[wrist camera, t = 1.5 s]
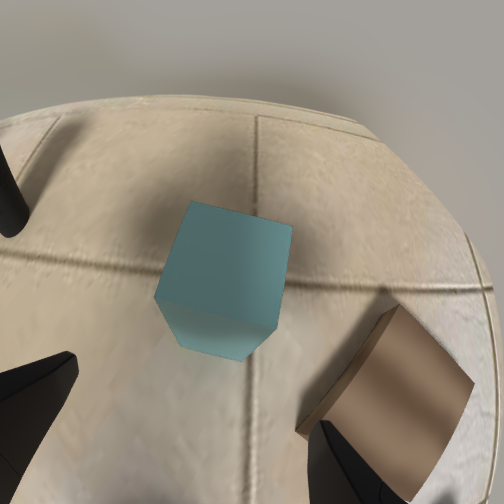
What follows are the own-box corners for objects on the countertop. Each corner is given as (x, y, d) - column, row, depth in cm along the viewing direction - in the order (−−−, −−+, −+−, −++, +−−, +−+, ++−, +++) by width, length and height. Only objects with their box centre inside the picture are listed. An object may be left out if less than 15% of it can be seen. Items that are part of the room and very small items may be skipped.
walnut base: (392, 496, 15) (410, 502, 13) (294, 431, 18) (307, 435, 16) (456, 387, 21) (474, 383, 19) (382, 314, 25) (399, 304, 22)
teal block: (241, 361, 21) (276, 328, 11) (180, 346, 21) (153, 296, 10) (253, 305, 23) (292, 226, 13) (196, 291, 23) (190, 201, 13)
